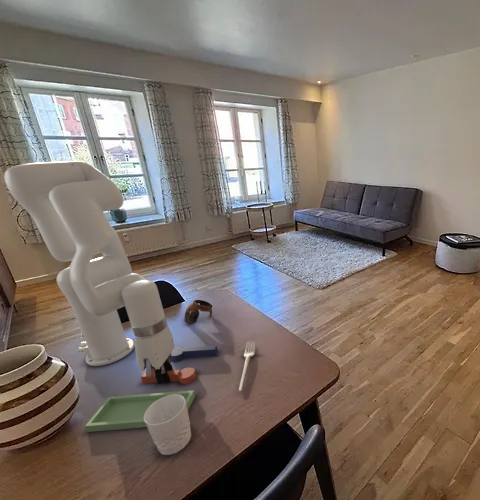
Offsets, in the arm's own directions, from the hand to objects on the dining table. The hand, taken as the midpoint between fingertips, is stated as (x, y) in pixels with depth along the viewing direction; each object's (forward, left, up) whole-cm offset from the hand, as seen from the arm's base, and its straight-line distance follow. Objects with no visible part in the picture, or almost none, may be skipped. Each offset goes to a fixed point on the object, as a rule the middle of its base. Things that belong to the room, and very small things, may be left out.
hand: (166, 378), depth 85 cm
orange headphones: (-3, +31, -1) cm, 31 cm away
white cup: (+11, -20, -1) cm, 23 cm away
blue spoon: (+3, +10, 0) cm, 10 cm away
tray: (0, -11, 0) cm, 11 cm away
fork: (+22, +3, -1) cm, 22 cm away
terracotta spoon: (+2, 0, 0) cm, 2 cm away
